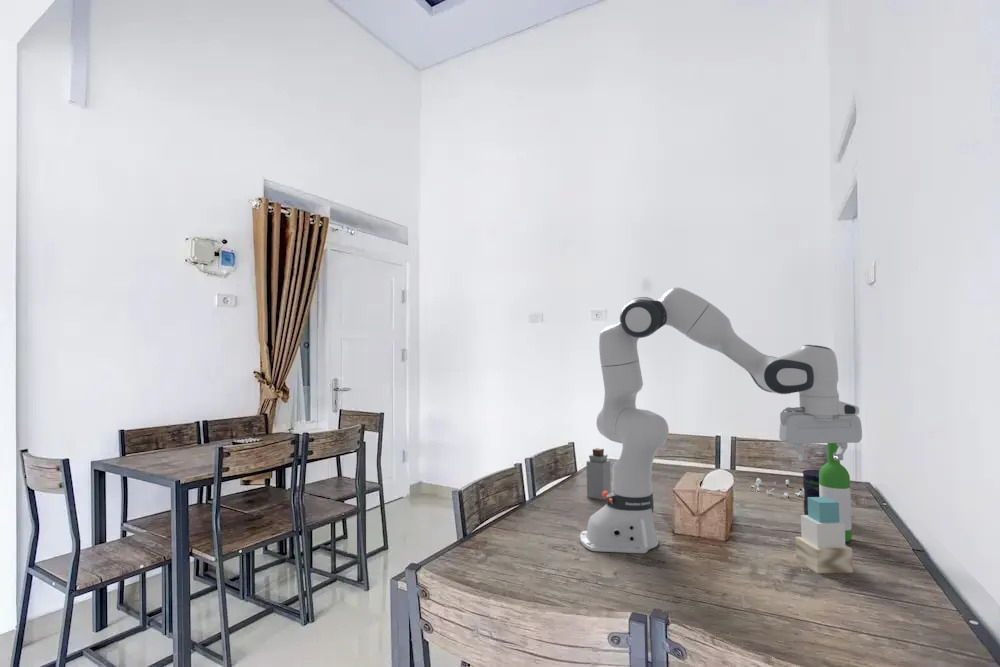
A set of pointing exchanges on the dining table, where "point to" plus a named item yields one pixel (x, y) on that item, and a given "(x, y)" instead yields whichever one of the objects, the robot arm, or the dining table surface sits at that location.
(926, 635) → the dining table surface
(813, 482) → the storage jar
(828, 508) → the teal cube
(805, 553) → the birch base block
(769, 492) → the game piece set
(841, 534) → the white middle block
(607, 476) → the perfume bottle
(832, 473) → the wine bottle
